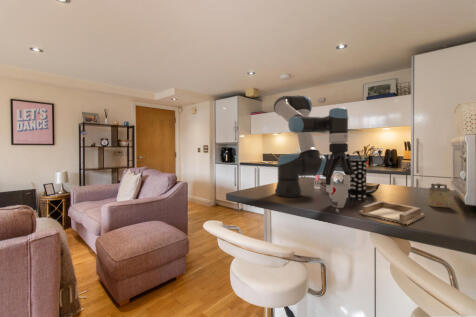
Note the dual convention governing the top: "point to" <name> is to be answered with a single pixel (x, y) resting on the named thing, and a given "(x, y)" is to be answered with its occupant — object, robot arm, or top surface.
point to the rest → (392, 212)
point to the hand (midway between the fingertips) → (338, 190)
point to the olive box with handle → (439, 196)
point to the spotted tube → (358, 180)
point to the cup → (338, 195)
